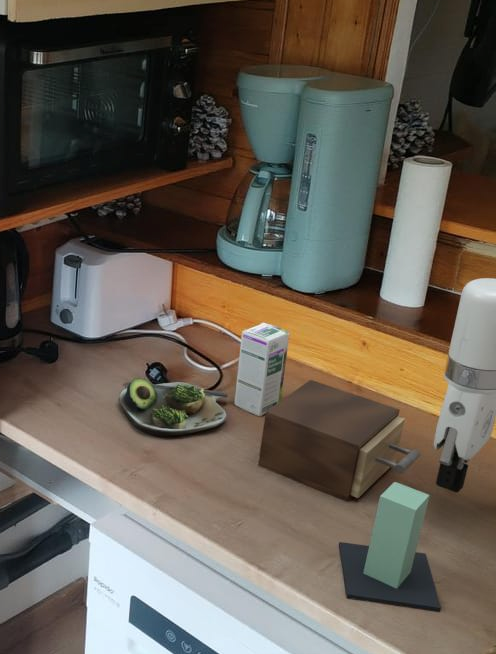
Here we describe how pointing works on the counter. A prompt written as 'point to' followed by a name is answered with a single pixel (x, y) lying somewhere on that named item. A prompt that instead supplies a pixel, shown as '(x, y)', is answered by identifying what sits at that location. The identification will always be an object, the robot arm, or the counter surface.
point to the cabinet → (321, 436)
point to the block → (395, 534)
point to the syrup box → (261, 368)
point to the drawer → (381, 457)
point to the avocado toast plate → (171, 407)
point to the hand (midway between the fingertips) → (448, 486)
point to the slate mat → (363, 587)
